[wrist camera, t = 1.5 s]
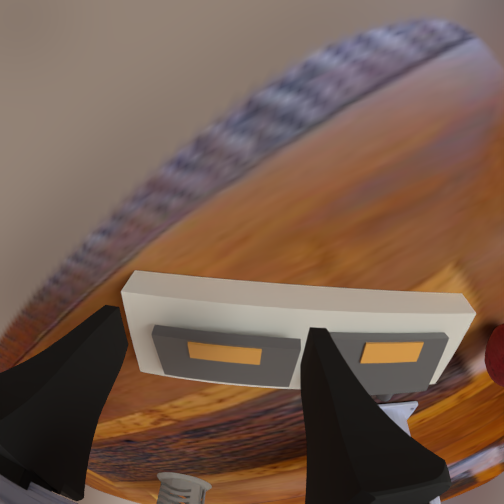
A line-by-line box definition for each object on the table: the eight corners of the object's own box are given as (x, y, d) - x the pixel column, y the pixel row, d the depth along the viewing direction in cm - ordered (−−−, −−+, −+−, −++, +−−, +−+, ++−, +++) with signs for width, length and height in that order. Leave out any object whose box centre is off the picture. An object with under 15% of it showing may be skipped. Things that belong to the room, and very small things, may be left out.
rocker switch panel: (412, 386, 26) (419, 406, 24) (155, 374, 26) (148, 396, 24) (461, 293, 21) (476, 313, 18) (134, 270, 21) (120, 291, 19)
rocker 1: (288, 377, 21) (288, 389, 21) (166, 365, 22) (164, 376, 21) (300, 338, 18) (301, 351, 18) (154, 324, 18) (150, 336, 18)
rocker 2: (422, 384, 20) (426, 392, 20) (316, 388, 21) (317, 397, 20) (444, 332, 19) (450, 339, 18) (330, 332, 19) (332, 340, 18)
